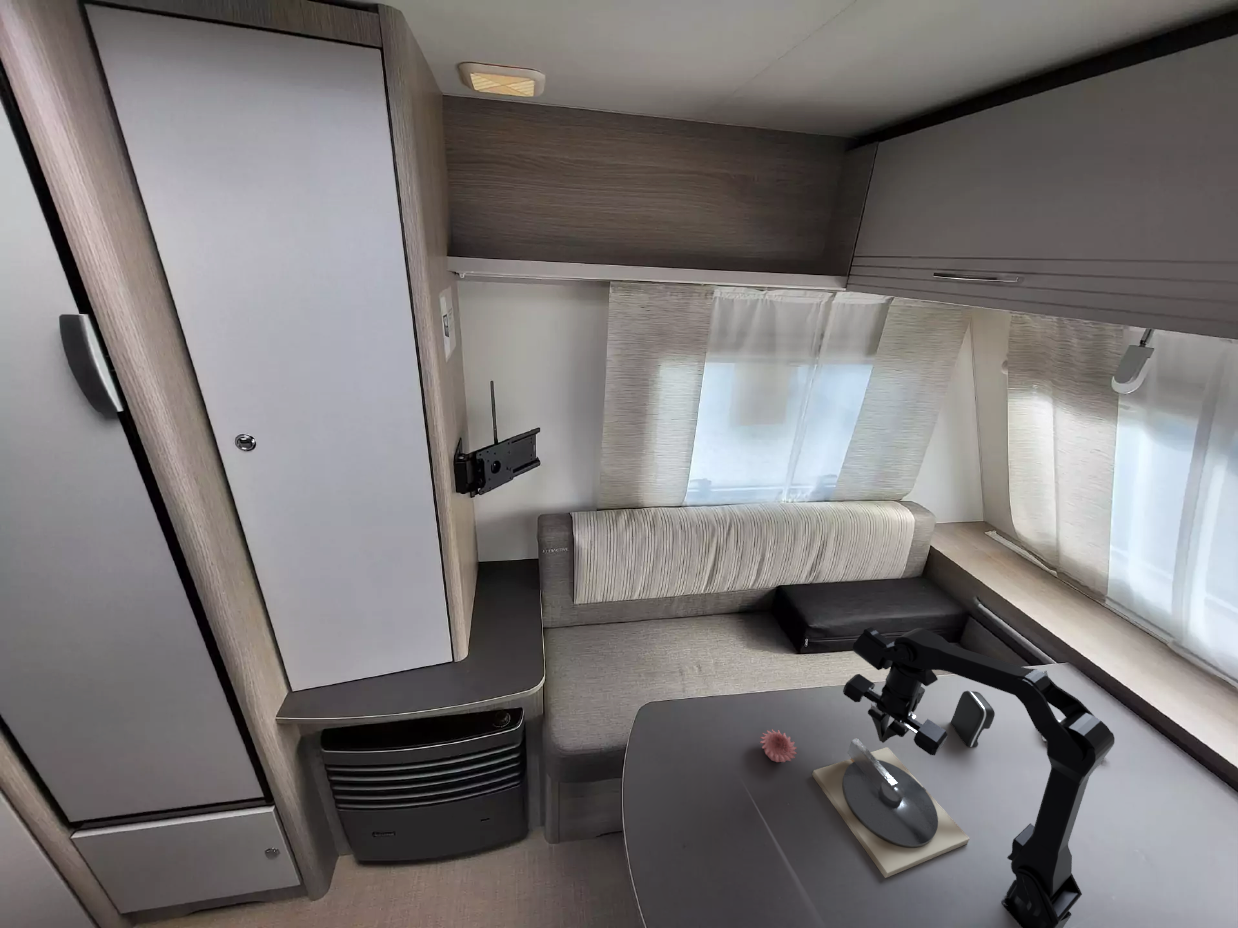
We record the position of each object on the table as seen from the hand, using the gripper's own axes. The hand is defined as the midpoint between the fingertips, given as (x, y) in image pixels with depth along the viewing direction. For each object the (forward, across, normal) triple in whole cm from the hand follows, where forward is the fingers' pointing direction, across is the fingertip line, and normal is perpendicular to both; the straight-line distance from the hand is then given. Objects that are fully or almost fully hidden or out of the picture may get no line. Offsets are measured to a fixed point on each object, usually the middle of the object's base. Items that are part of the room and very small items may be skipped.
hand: (882, 740), depth 107 cm
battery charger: (+8, -9, -26) cm, 29 cm away
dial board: (+8, -6, +7) cm, 12 cm away
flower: (+8, +14, +16) cm, 23 cm away
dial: (+6, -6, +7) cm, 11 cm away
